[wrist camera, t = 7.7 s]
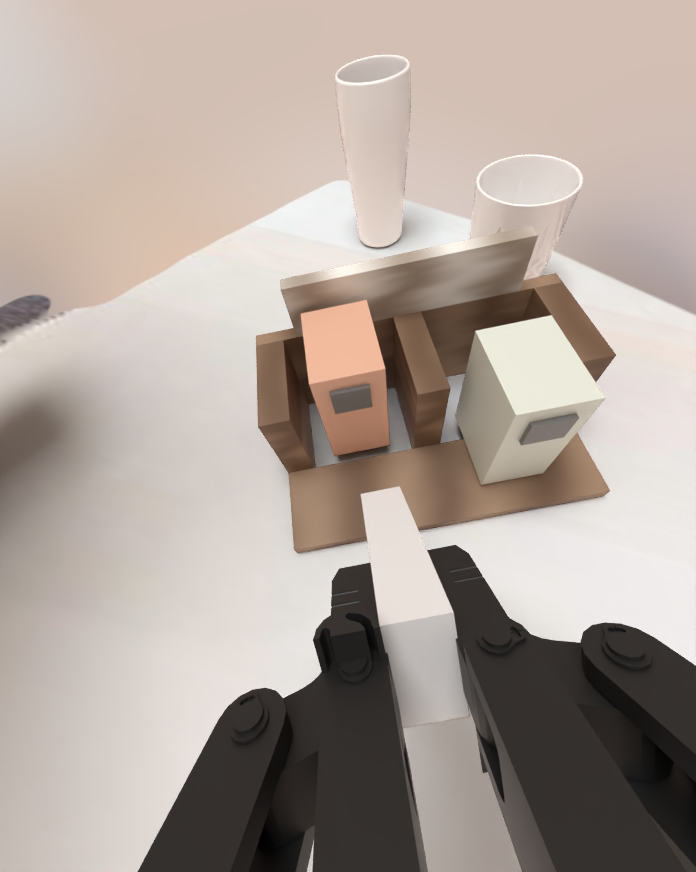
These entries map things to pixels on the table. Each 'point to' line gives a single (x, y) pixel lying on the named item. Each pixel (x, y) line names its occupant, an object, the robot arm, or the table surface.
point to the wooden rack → (420, 385)
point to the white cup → (526, 201)
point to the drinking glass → (376, 142)
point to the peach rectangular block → (347, 376)
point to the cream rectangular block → (523, 398)
